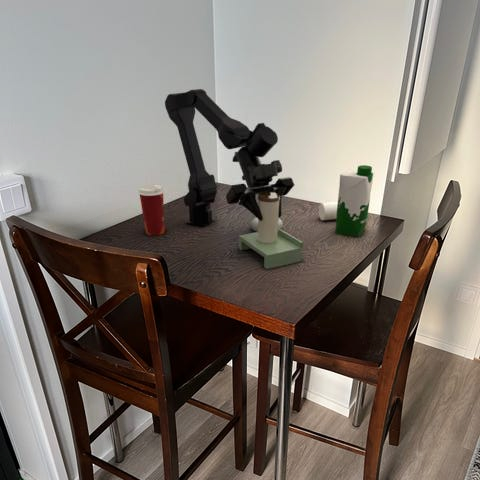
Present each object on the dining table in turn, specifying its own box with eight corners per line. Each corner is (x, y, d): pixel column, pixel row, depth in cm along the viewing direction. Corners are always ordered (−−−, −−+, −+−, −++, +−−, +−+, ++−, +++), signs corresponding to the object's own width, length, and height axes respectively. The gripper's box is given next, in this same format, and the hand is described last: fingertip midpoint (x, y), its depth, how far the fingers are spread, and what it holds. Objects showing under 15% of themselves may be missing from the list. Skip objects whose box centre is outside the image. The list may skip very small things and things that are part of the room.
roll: (358, 220, 160) (360, 203, 157) (323, 222, 158) (325, 206, 156) (351, 214, 165) (353, 198, 162) (318, 216, 163) (319, 200, 161)
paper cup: (172, 232, 152) (169, 187, 145) (153, 238, 147) (148, 192, 140) (156, 226, 156) (152, 182, 149) (137, 232, 152) (132, 187, 144)
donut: (248, 234, 150) (280, 236, 148) (248, 223, 148) (280, 225, 147) (253, 223, 159) (284, 224, 157) (253, 213, 157) (284, 214, 155)
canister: (253, 241, 134) (254, 196, 127) (262, 234, 138) (263, 190, 132) (272, 245, 132) (274, 199, 125) (281, 238, 136) (283, 193, 129)
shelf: (238, 248, 140) (238, 230, 137) (271, 241, 144) (272, 224, 142) (266, 269, 128) (267, 249, 125) (301, 261, 132) (303, 242, 129)
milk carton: (359, 238, 146) (368, 171, 136) (331, 233, 150) (337, 167, 140) (368, 229, 153) (377, 164, 142) (341, 224, 157) (347, 161, 146)
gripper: (230, 153, 122) (250, 208, 119) (293, 146, 129) (313, 198, 127) (217, 177, 132) (236, 229, 129) (276, 169, 140) (295, 218, 137)
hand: (270, 218), depth 130 cm, fingers closed on canister, 5 cm apart
